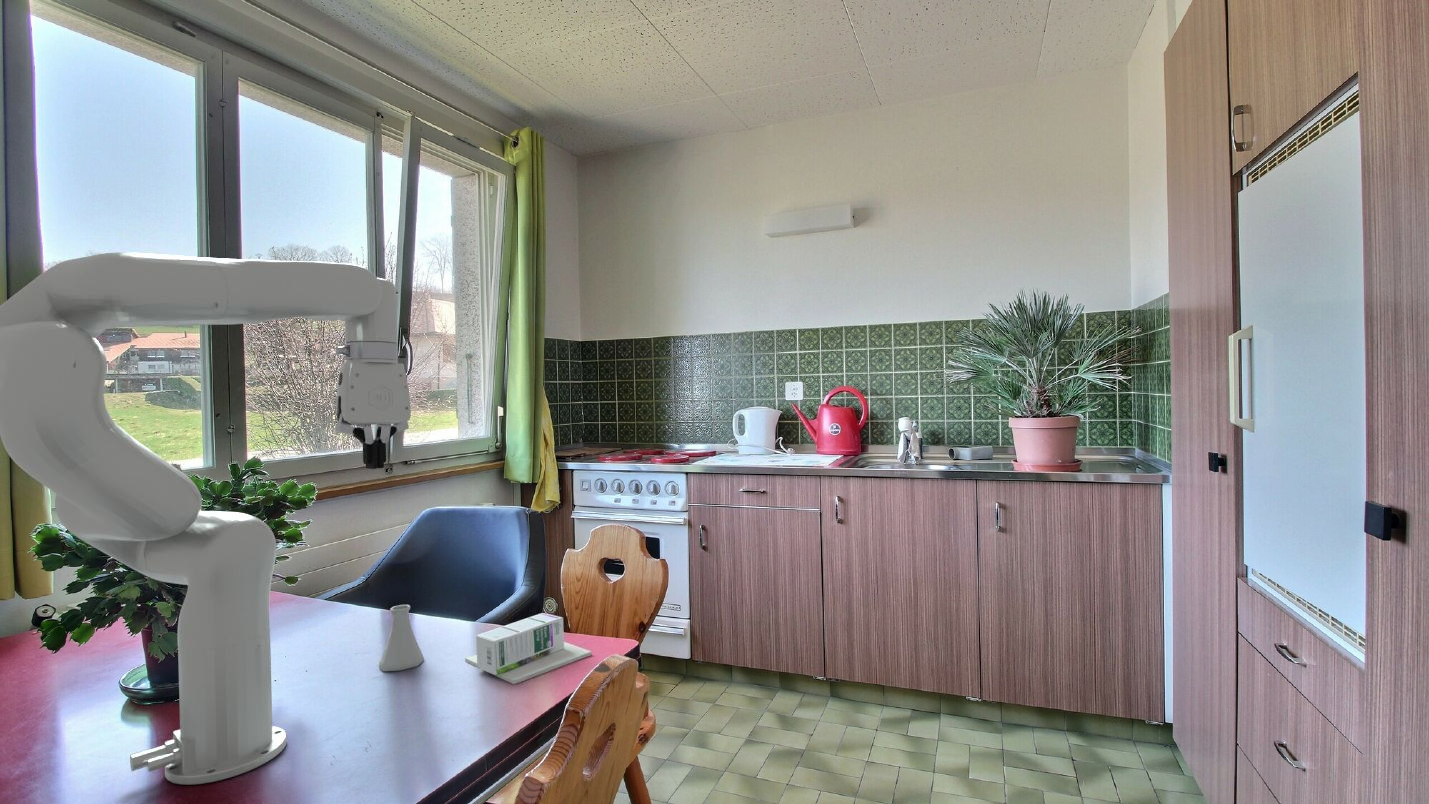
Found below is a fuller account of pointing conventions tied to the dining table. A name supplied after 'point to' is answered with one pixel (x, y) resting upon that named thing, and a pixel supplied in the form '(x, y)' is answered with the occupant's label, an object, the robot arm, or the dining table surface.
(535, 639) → the syrup box
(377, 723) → the dining table surface
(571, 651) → the mat
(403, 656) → the flask
